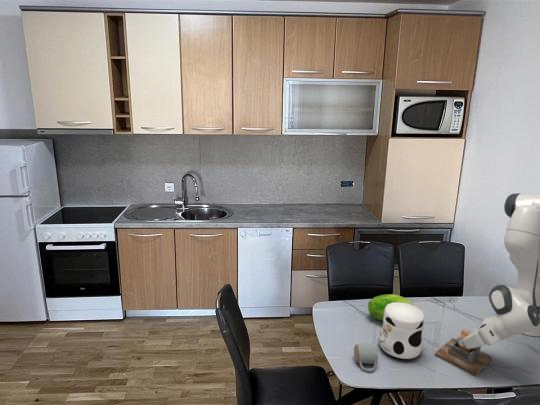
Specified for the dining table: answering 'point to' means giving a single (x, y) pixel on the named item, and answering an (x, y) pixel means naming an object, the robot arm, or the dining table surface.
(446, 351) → the stand
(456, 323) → the dining table surface
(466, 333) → the post
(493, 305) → the robot arm
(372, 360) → the ceramic mug
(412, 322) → the milk container
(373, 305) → the lettuce
